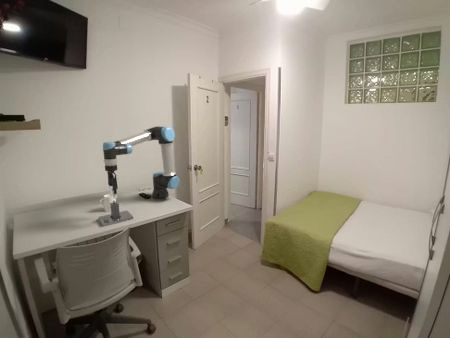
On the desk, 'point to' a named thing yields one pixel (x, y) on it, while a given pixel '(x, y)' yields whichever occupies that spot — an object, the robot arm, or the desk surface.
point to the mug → (108, 202)
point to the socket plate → (108, 219)
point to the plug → (114, 210)
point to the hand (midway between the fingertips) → (113, 196)
